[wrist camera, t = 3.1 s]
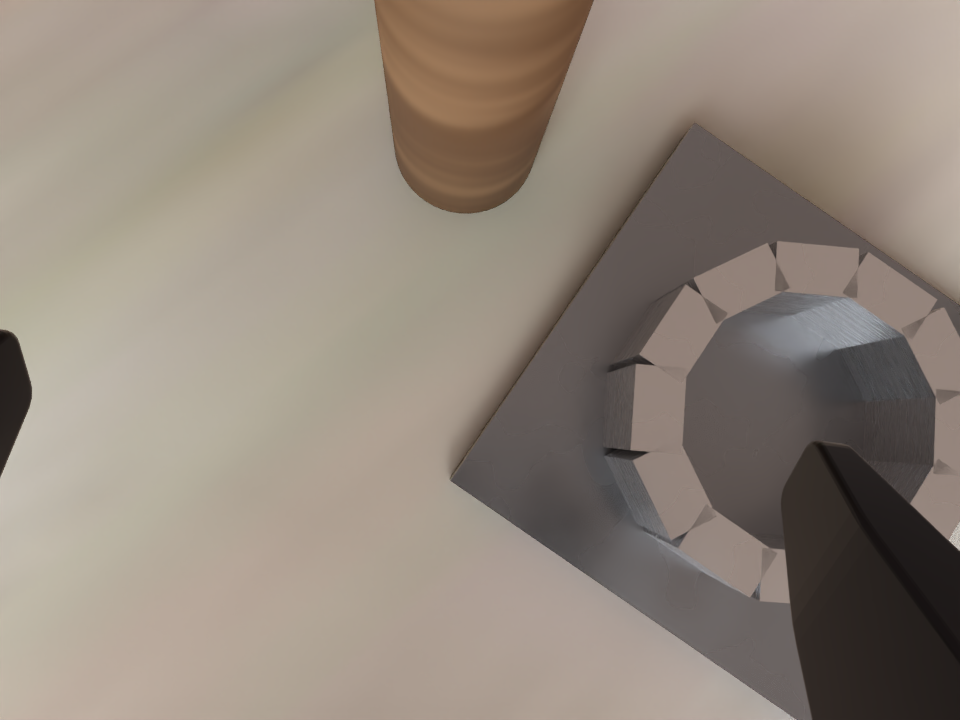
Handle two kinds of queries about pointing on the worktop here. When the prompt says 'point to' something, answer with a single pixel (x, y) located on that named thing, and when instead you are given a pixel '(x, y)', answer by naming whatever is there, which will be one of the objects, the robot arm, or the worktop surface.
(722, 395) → the bracket
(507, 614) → the worktop surface
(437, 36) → the brown wooden cylinder
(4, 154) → the worktop surface
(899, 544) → the robot arm
